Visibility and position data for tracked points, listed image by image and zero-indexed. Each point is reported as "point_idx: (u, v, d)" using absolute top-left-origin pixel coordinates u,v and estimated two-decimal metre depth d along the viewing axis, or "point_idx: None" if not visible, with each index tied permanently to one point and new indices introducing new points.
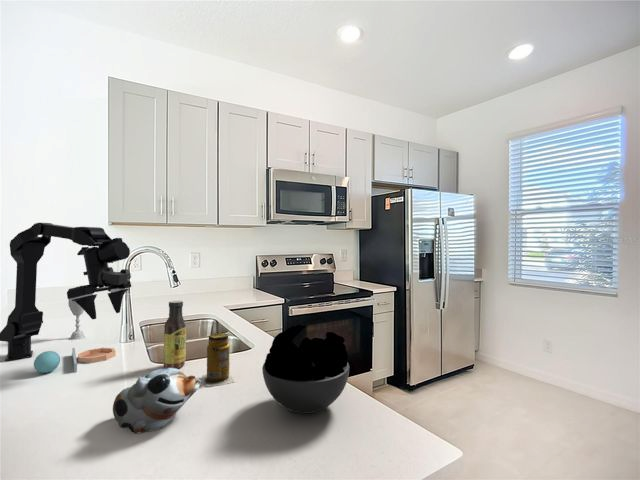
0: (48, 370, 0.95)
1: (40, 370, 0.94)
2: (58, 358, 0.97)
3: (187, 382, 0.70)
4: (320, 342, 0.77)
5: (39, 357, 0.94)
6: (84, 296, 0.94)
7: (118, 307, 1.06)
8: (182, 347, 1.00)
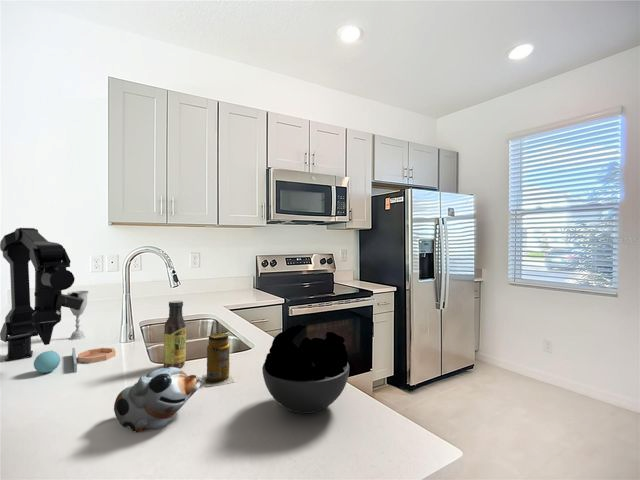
0: (48, 370, 0.95)
1: (40, 370, 0.94)
2: (58, 358, 0.97)
3: (188, 381, 0.70)
4: (320, 342, 0.77)
5: (39, 357, 0.94)
6: (54, 321, 0.91)
7: None
8: (182, 347, 1.00)
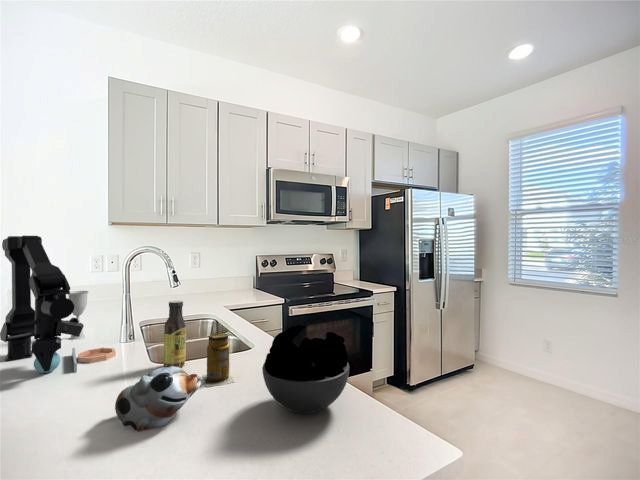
0: None
1: (40, 370, 0.94)
2: (58, 358, 0.97)
3: (189, 380, 0.71)
4: (320, 342, 0.77)
5: None
6: None
7: None
8: (182, 347, 1.00)
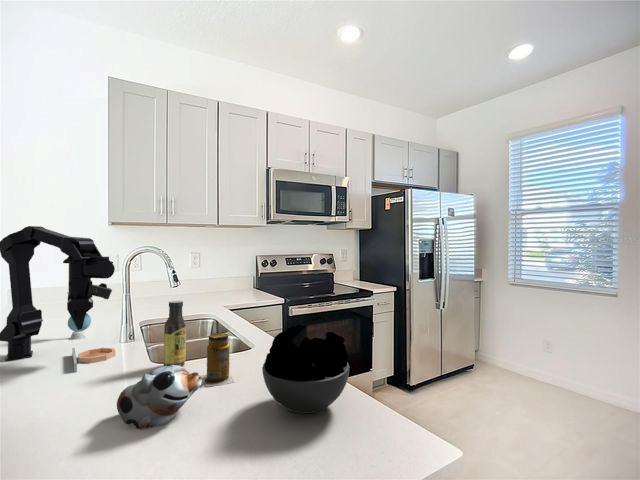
0: (81, 329, 1.02)
1: (73, 329, 1.01)
2: (89, 318, 1.04)
3: (191, 379, 0.72)
4: (320, 342, 0.77)
5: None
6: (86, 307, 1.00)
7: None
8: (182, 347, 1.00)
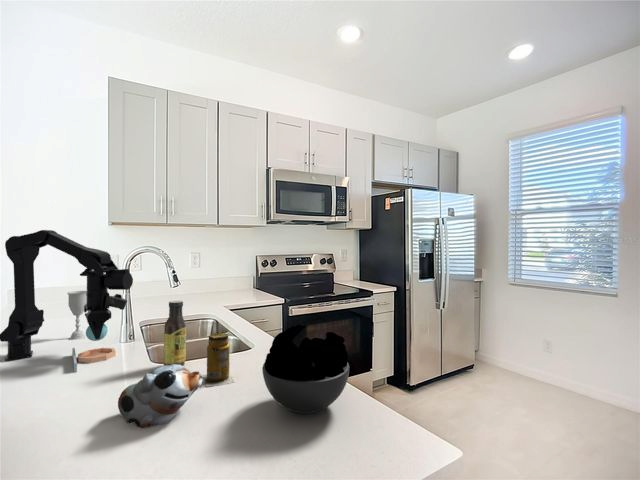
0: None
1: (91, 338, 1.06)
2: (106, 328, 1.09)
3: (192, 378, 0.72)
4: (320, 342, 0.77)
5: None
6: (104, 318, 1.05)
7: None
8: (182, 347, 1.00)
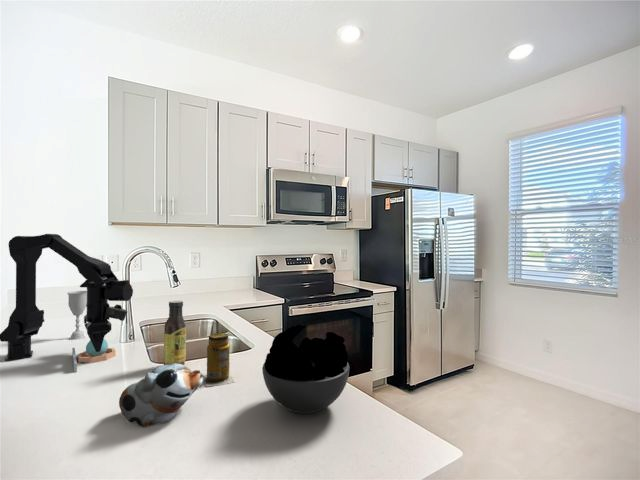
0: (98, 354, 1.07)
1: (91, 354, 1.06)
2: (106, 344, 1.09)
3: (193, 377, 0.73)
4: (320, 342, 0.77)
5: (90, 342, 1.07)
6: (105, 331, 1.03)
7: None
8: (182, 347, 1.00)
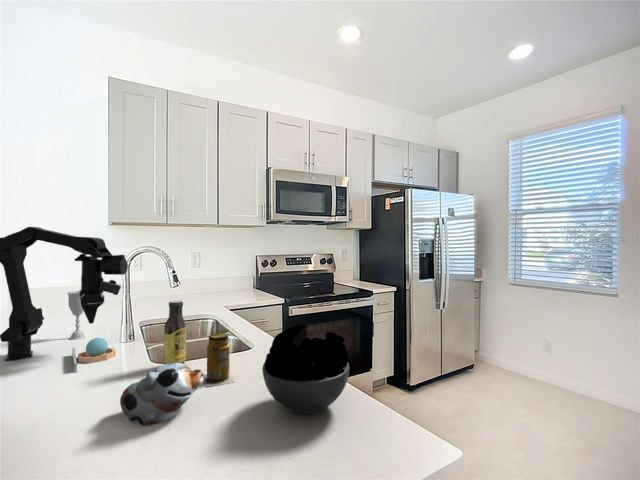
0: (98, 354, 1.07)
1: (91, 354, 1.06)
2: (106, 344, 1.09)
3: (194, 376, 0.73)
4: (320, 342, 0.77)
5: (90, 342, 1.07)
6: (98, 303, 1.06)
7: None
8: (182, 347, 1.00)
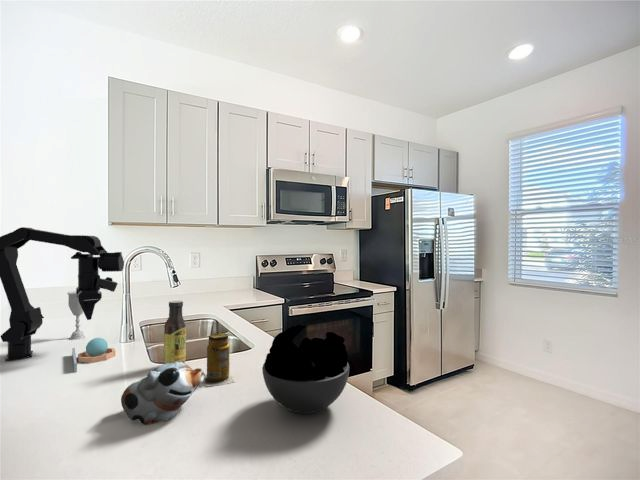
0: (98, 354, 1.07)
1: (91, 354, 1.06)
2: (106, 344, 1.09)
3: (194, 375, 0.74)
4: (320, 342, 0.77)
5: (91, 342, 1.06)
6: (95, 299, 1.08)
7: None
8: (182, 347, 1.00)
